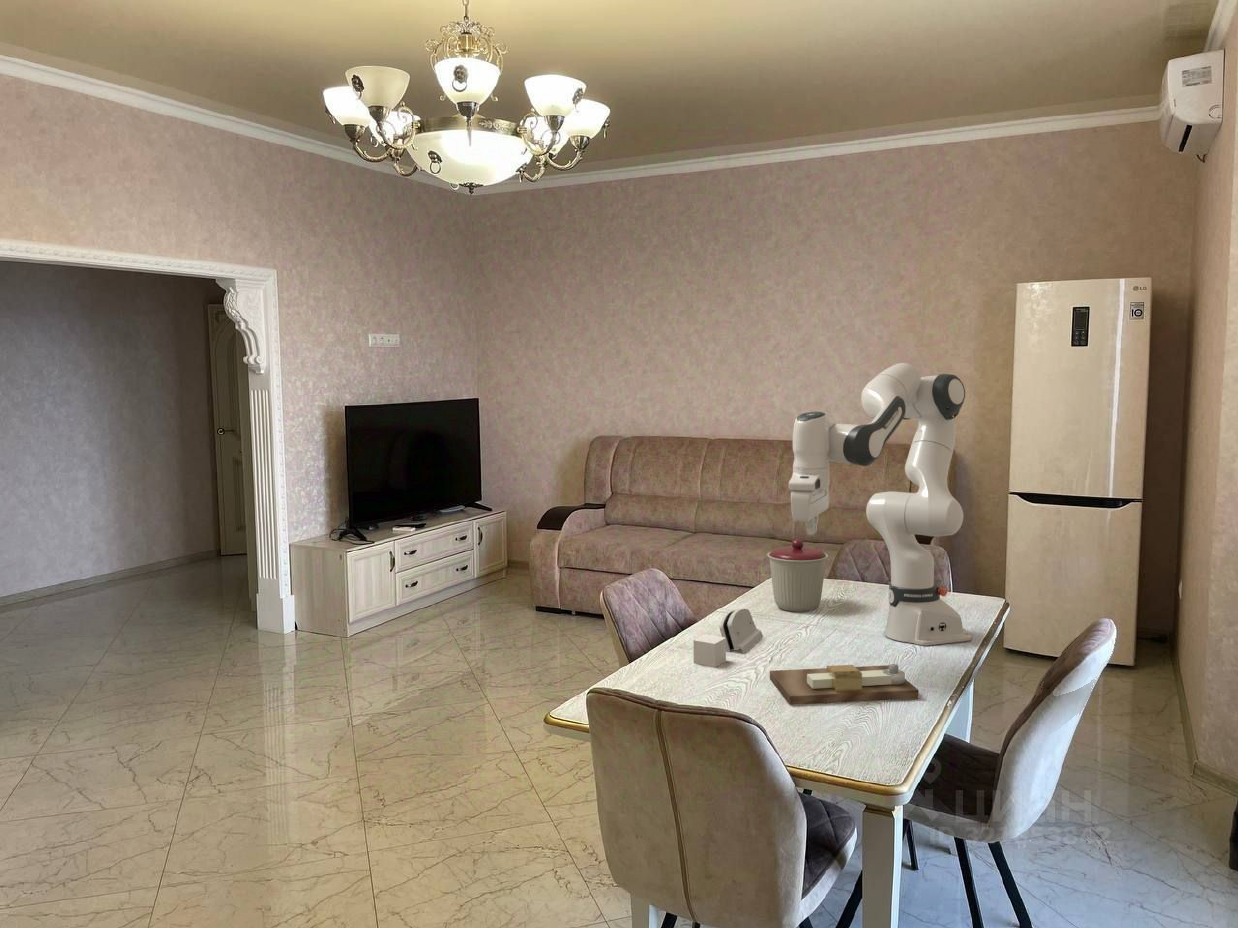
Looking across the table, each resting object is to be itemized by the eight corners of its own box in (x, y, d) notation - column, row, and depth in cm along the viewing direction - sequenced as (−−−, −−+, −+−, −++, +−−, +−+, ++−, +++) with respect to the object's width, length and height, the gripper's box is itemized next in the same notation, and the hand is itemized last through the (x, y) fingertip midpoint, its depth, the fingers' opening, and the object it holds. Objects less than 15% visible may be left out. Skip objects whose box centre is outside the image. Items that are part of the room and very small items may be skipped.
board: (888, 673, 220) (889, 665, 219) (918, 698, 203) (918, 689, 203) (769, 678, 217) (769, 670, 217) (789, 705, 200) (789, 696, 200)
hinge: (744, 654, 236) (731, 616, 236) (727, 658, 238) (715, 621, 239) (763, 636, 251) (751, 601, 251) (748, 640, 253) (736, 605, 253)
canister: (836, 604, 283) (836, 537, 281) (815, 618, 268) (815, 547, 265) (780, 597, 293) (781, 532, 290) (757, 610, 277) (757, 541, 275)
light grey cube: (715, 667, 226) (714, 643, 226) (693, 663, 230) (693, 640, 229) (726, 660, 231) (725, 637, 231) (704, 656, 235) (704, 633, 234)
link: (899, 676, 210) (899, 661, 210) (908, 683, 206) (908, 668, 205) (806, 681, 208) (806, 666, 208) (813, 689, 203) (813, 673, 203)
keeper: (852, 681, 208) (852, 664, 208) (861, 690, 202) (862, 673, 202) (826, 682, 208) (826, 665, 207) (835, 692, 202) (835, 674, 201)
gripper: (810, 472, 237) (811, 524, 239) (786, 484, 219) (787, 541, 221) (835, 473, 234) (835, 526, 236) (812, 485, 216) (812, 542, 218)
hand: (811, 533), depth 228 cm, fingers closed
